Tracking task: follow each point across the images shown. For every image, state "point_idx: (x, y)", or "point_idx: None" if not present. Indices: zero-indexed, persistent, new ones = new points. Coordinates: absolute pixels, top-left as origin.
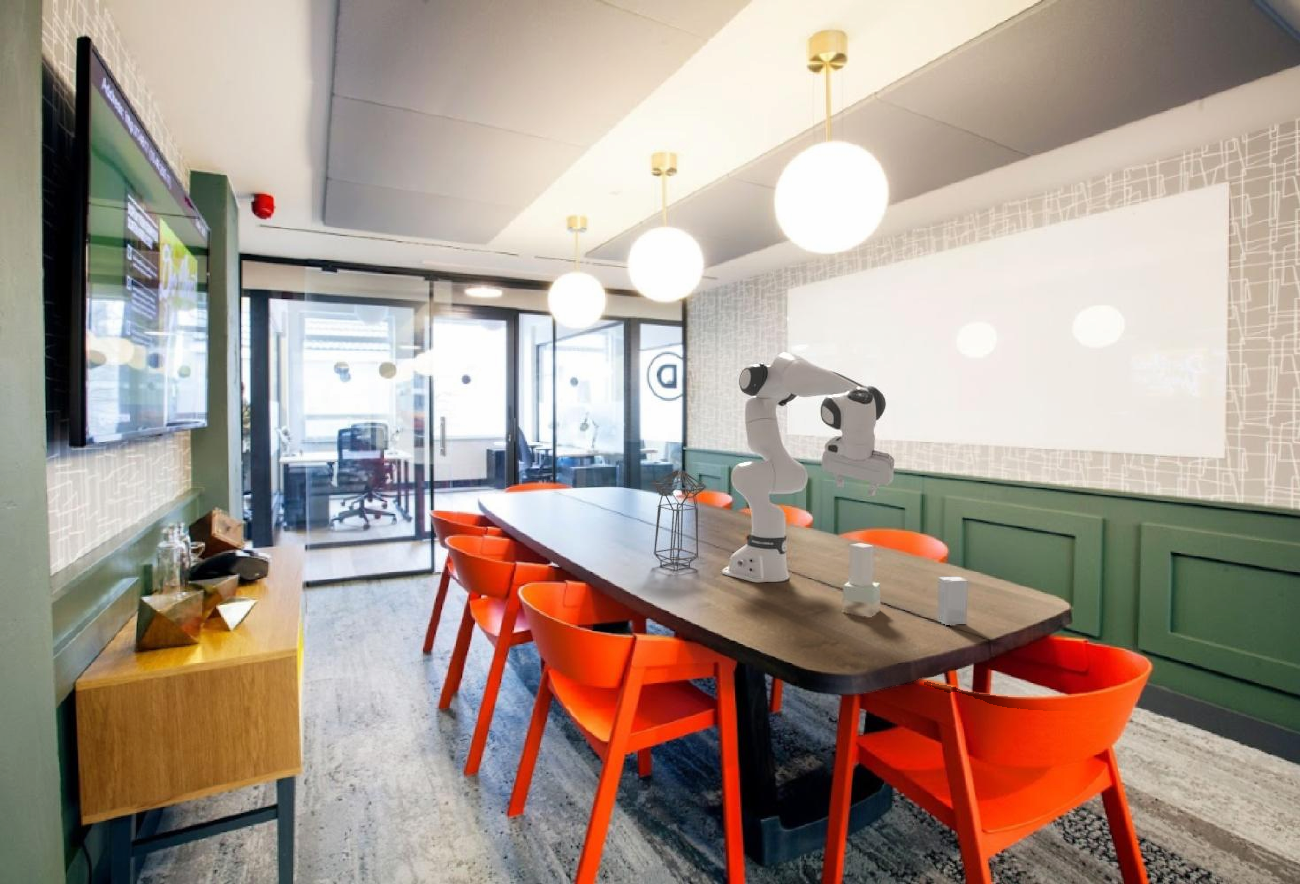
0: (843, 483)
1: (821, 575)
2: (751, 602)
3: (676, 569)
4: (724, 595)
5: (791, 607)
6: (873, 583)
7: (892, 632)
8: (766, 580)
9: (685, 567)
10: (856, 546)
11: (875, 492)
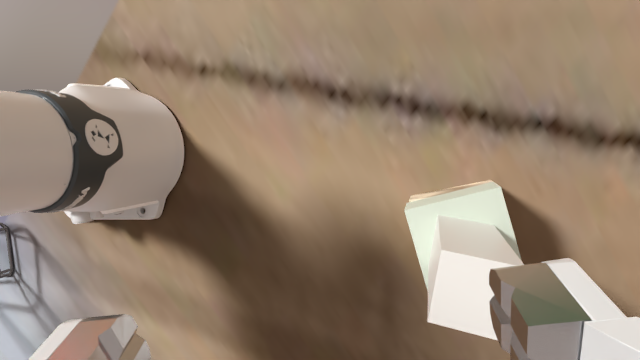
0: (111, 342)
1: (203, 16)
2: (248, 351)
3: (10, 270)
4: (183, 348)
5: (324, 321)
6: (485, 206)
7: None
8: (165, 195)
9: (7, 243)
10: (467, 331)
11: (576, 268)
